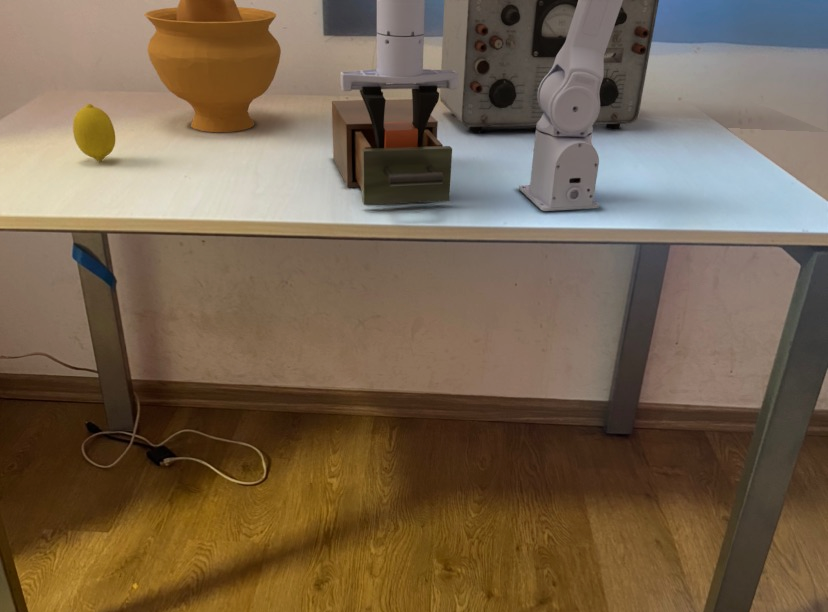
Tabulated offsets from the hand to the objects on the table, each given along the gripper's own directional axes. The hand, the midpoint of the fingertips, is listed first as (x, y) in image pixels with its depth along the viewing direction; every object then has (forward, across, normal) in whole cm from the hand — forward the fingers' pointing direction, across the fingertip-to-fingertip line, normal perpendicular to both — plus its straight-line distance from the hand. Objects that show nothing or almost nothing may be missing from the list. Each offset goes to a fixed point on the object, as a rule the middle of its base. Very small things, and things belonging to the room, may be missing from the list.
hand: (398, 148), depth 103 cm
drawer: (+5, 0, +2) cm, 6 cm away
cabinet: (+6, 0, -11) cm, 13 cm away
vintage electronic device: (+6, -33, -36) cm, 49 cm away
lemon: (+6, +40, -21) cm, 46 cm away
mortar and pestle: (+6, +22, -41) cm, 47 cm away
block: (+1, 0, 0) cm, 1 cm away
